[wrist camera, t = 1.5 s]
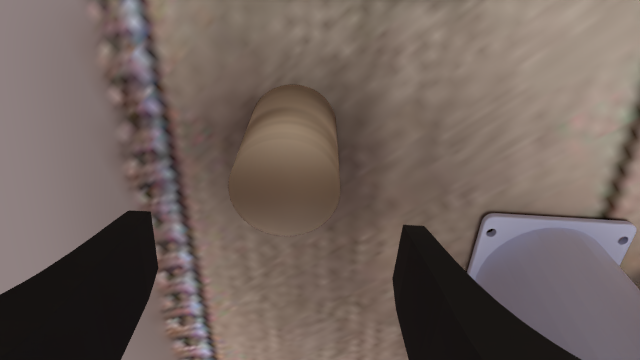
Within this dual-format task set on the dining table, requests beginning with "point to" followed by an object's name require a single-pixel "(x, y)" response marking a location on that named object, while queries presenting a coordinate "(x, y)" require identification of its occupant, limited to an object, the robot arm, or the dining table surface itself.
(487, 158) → the dining table surface
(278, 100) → the birch cylinder
